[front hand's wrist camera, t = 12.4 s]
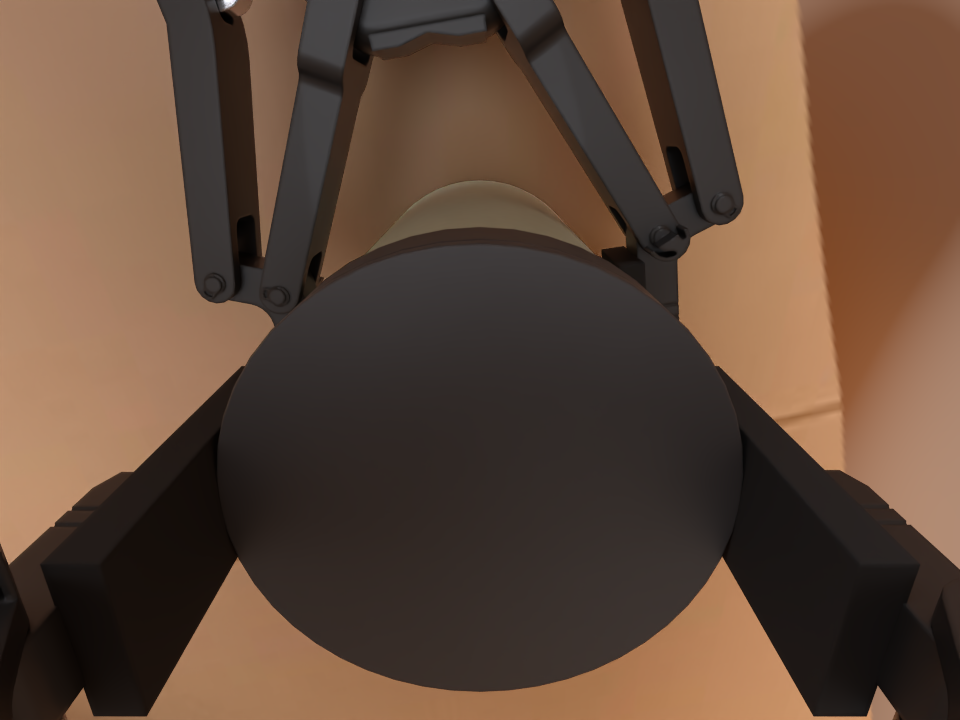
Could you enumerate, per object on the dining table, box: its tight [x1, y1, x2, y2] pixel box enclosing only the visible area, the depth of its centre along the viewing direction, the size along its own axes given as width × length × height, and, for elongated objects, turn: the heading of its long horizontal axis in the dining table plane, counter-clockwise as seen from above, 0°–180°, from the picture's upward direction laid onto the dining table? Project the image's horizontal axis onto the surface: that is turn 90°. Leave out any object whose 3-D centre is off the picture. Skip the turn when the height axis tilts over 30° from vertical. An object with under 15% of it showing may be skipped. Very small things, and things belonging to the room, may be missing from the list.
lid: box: [216, 227, 743, 692], centre depth 11 cm, size 10×10×2 cm
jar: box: [366, 180, 594, 254], centre depth 18 cm, size 9×9×16 cm
